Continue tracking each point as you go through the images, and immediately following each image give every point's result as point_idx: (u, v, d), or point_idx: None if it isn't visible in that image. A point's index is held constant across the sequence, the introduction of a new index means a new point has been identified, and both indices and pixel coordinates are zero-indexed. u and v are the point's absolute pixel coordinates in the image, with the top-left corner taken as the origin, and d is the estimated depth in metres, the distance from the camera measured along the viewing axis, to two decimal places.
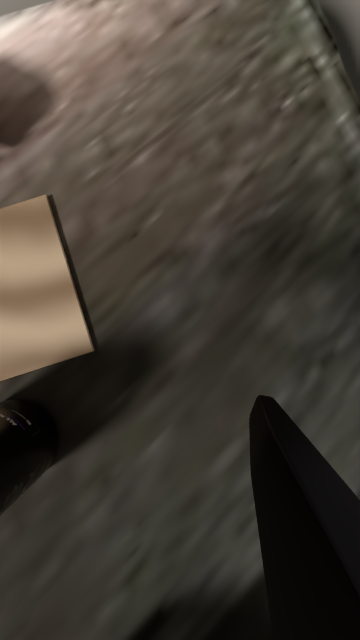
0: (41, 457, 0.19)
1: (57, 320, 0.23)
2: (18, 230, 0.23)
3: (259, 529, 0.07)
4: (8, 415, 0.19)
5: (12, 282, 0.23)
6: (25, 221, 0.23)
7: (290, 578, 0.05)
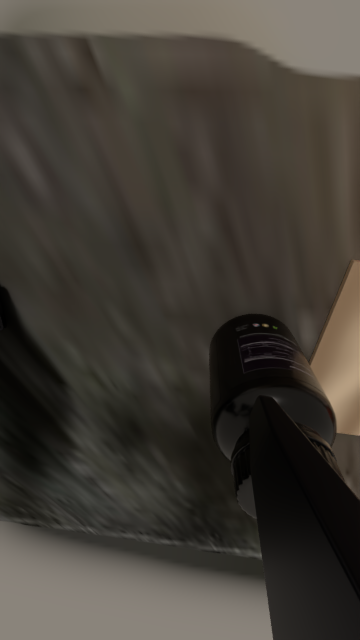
0: None
1: None
2: None
3: (259, 529, 0.07)
4: None
5: None
6: None
7: (290, 578, 0.05)
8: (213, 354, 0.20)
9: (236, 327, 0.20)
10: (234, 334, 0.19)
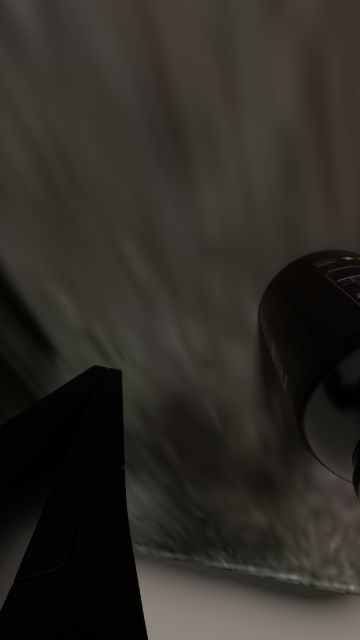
0: None
1: None
2: None
3: None
4: None
5: None
6: None
7: None
8: (276, 303, 0.13)
9: (314, 263, 0.13)
10: (314, 270, 0.12)
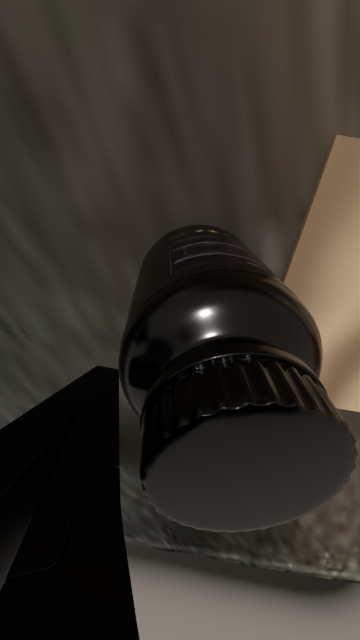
0: None
1: None
2: None
3: None
4: None
5: None
6: None
7: None
8: (137, 279, 0.13)
9: (171, 237, 0.13)
10: (166, 243, 0.12)
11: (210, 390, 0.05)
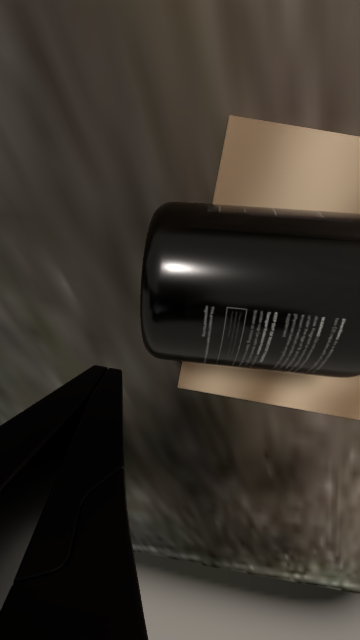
0: (219, 365, 0.12)
1: (230, 373, 0.19)
2: (359, 384, 0.18)
3: None
4: None
5: None
6: None
7: None
8: (227, 267, 0.09)
9: (206, 210, 0.10)
10: (227, 215, 0.10)
11: None
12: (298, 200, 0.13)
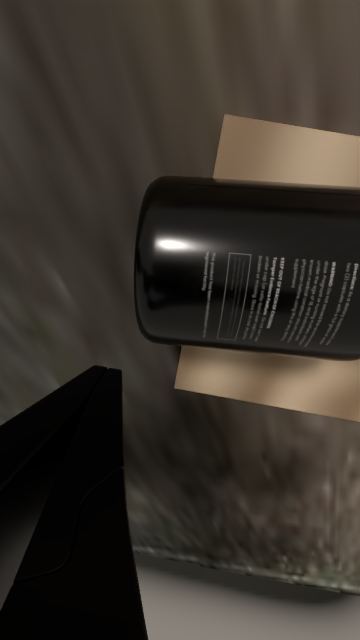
0: (221, 344, 0.10)
1: (226, 374, 0.19)
2: (357, 385, 0.18)
3: None
4: None
5: None
6: (359, 396, 0.18)
7: None
8: (228, 213, 0.08)
9: None
10: (225, 179, 0.10)
11: None
12: None
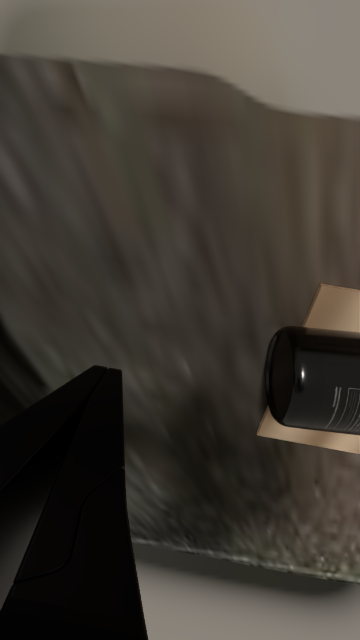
0: (332, 431, 0.17)
1: None
2: None
3: None
4: None
5: None
6: None
7: None
8: (345, 365, 0.16)
9: (319, 332, 0.17)
10: (333, 335, 0.17)
11: None
12: None
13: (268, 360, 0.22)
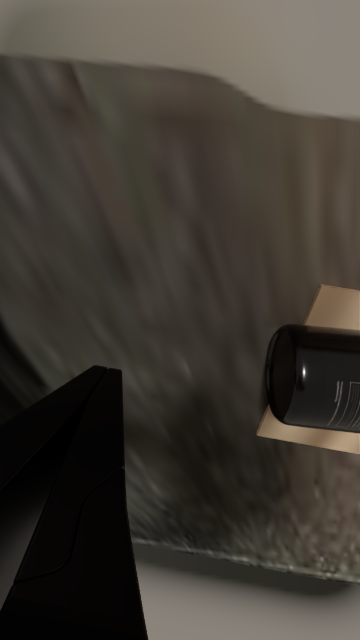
0: (335, 428, 0.17)
1: (298, 427, 0.26)
2: None
3: None
4: None
5: None
6: None
7: None
8: (346, 359, 0.16)
9: (319, 329, 0.18)
10: (333, 332, 0.17)
11: None
12: None
13: (268, 361, 0.22)
